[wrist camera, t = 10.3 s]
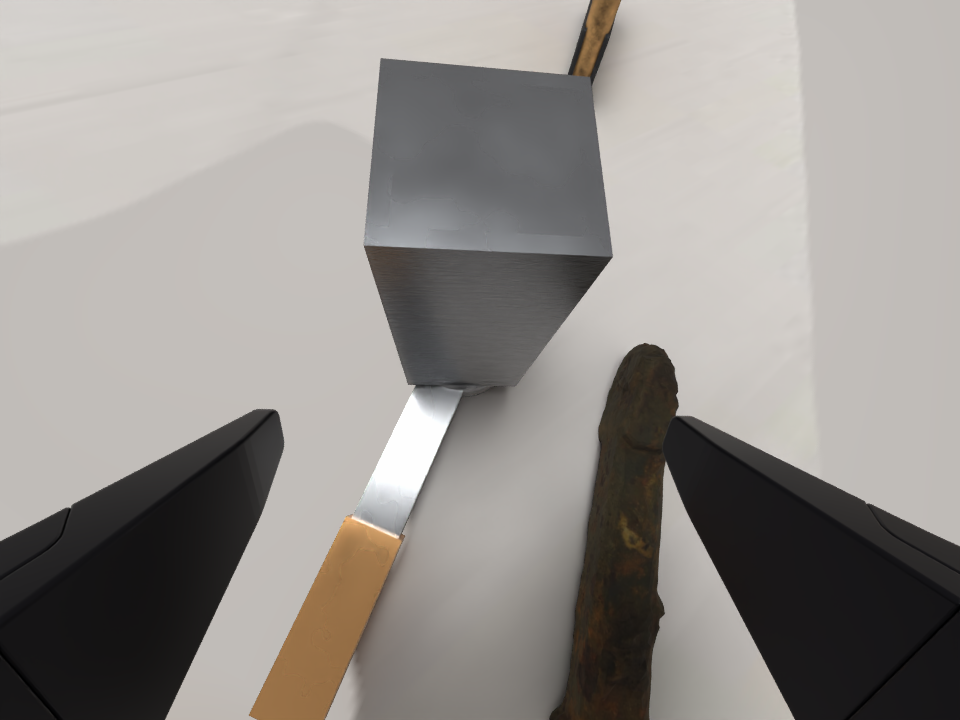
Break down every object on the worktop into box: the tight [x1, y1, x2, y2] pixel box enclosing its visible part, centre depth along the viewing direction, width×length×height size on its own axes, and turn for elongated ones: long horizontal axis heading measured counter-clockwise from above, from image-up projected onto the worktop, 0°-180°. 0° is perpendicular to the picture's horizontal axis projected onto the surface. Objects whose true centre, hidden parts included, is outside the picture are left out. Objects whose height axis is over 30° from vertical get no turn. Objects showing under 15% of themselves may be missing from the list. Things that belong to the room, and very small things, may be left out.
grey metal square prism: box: [364, 58, 613, 386], centre depth 16 cm, size 6×6×12 cm
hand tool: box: [549, 343, 679, 720], centre depth 19 cm, size 19×4×5 cm, turn 165°
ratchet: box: [249, 385, 493, 720], centre depth 19 cm, size 22×6×5 cm, turn 158°
